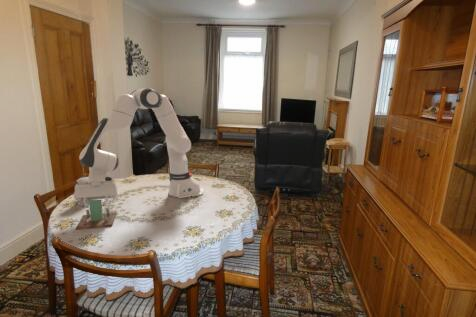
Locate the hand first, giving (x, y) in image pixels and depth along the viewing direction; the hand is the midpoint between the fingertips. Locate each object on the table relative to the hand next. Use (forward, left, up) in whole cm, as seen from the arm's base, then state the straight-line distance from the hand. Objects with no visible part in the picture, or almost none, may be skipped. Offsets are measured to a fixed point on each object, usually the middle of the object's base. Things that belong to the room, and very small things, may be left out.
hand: (95, 206), depth 144 cm
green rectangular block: (0, -1, -7) cm, 7 cm away
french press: (+10, -27, -9) cm, 30 cm away
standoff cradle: (0, -1, -8) cm, 8 cm away
